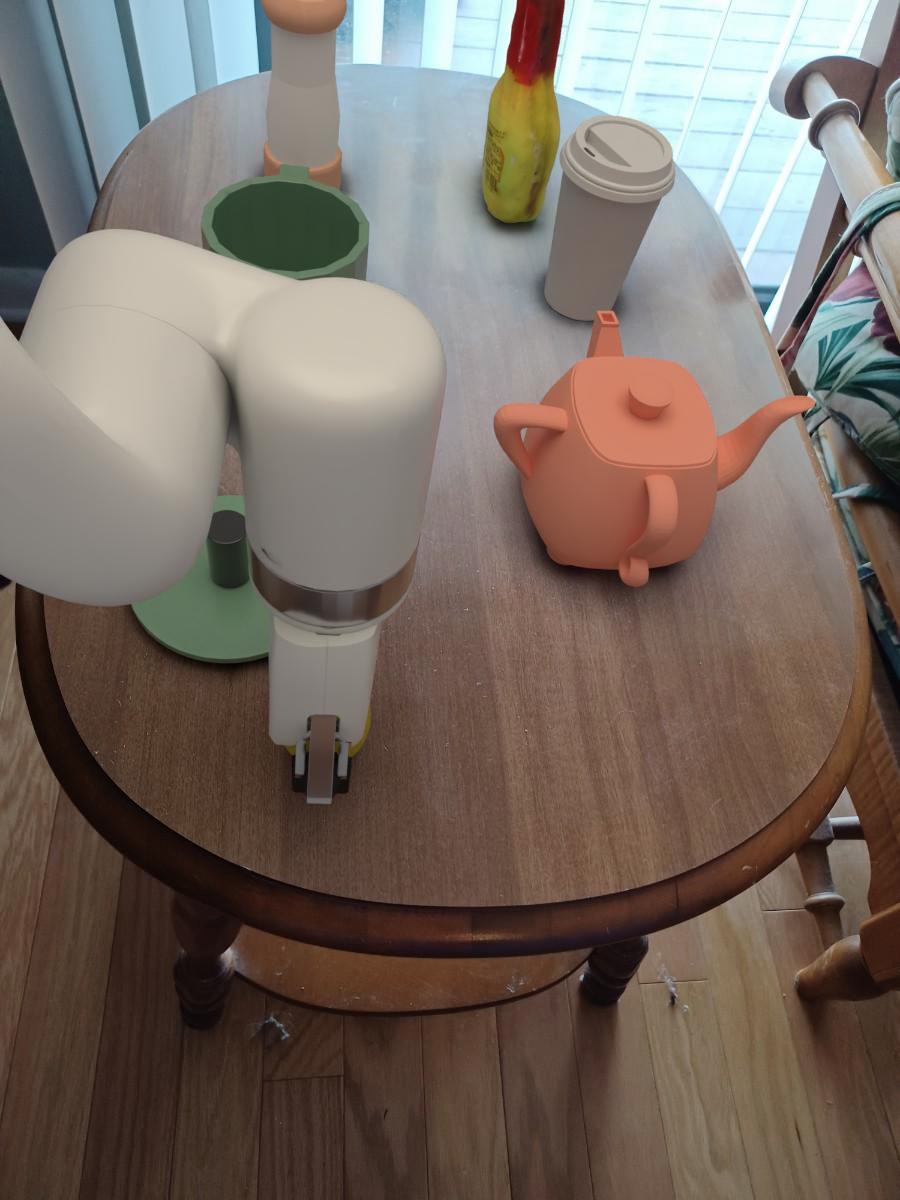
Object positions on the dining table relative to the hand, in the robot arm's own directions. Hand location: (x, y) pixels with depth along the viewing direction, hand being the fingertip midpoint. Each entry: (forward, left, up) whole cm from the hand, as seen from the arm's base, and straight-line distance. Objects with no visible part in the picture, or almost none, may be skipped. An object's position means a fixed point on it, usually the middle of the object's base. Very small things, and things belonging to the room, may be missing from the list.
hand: (324, 722), depth 57 cm
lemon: (0, 0, -4) cm, 4 cm away
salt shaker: (-5, +59, -3) cm, 59 cm away
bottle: (+15, +60, -3) cm, 62 cm away
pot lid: (-7, +12, -3) cm, 14 cm away
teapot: (+21, +21, -3) cm, 30 cm away
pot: (-5, +39, -3) cm, 39 cm away
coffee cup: (+21, +46, -3) cm, 51 cm away
